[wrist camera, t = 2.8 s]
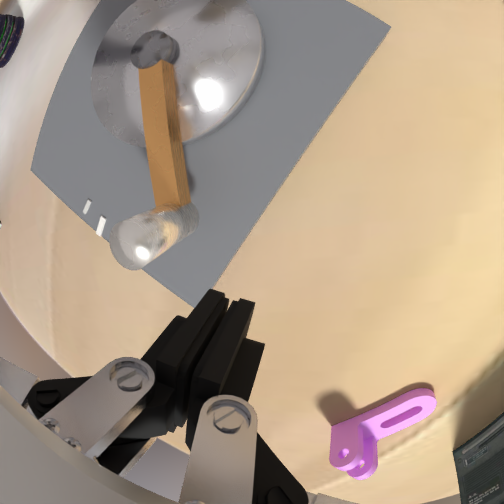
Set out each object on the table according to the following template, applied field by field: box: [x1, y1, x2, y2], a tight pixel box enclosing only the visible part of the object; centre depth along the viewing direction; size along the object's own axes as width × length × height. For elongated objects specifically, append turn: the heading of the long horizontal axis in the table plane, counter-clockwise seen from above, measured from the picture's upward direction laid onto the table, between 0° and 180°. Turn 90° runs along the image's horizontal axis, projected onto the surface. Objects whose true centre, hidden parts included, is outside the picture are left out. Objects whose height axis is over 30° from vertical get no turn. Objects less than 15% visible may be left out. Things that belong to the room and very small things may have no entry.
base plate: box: [31, 0, 391, 308], centre depth 19 cm, size 28×26×2 cm
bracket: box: [329, 388, 437, 480], centre depth 23 cm, size 13×6×7 cm, turn 133°
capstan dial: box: [91, 0, 266, 270], centre depth 14 cm, size 20×14×8 cm
